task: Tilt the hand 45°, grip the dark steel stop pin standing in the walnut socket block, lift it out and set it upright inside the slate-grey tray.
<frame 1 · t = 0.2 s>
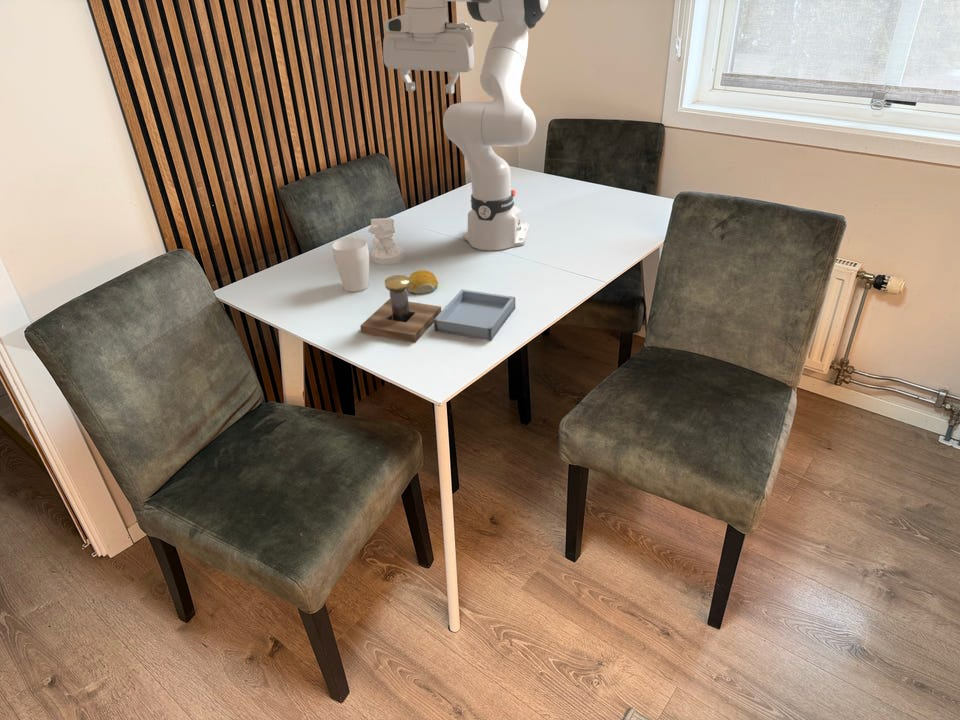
hand: (430, 92, 147), 48 cm above the table, tool pointing down, fingers open, 8 cm apart
stop pin: (399, 302, 155), in the socket block
character figurine: (388, 258, 191), on the table
socket block: (402, 323, 158), on the table
cup: (356, 287, 176), on the table
tray: (476, 319, 158), on the table
bread roll: (423, 288, 174), on the table
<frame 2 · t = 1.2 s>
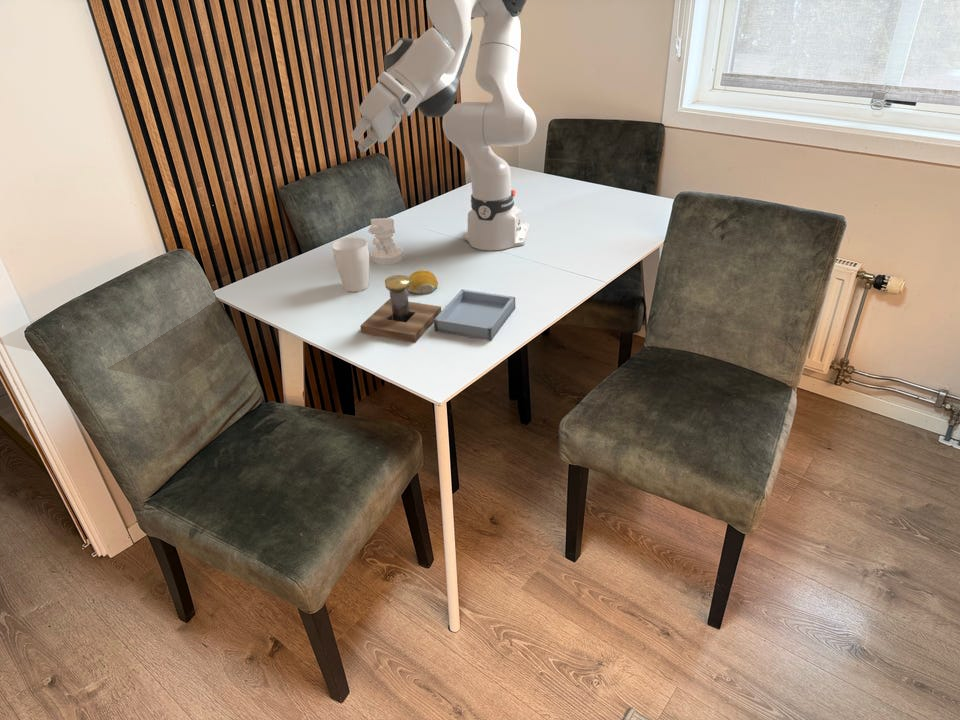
hand: (357, 144, 145), 39 cm above the table, tool tilted 50°, fingers open, 8 cm apart
nothing on the table moved.
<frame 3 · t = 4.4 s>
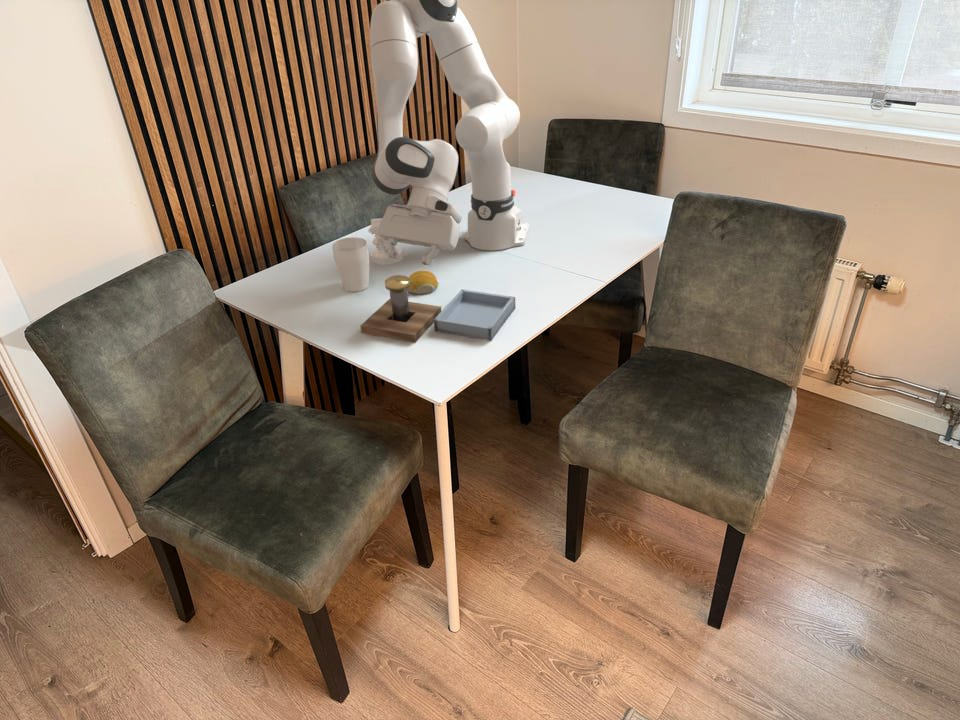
hand: (408, 261, 157), 13 cm above the table, tool tilted 45°, fingers open, 8 cm apart
nothing on the table moved.
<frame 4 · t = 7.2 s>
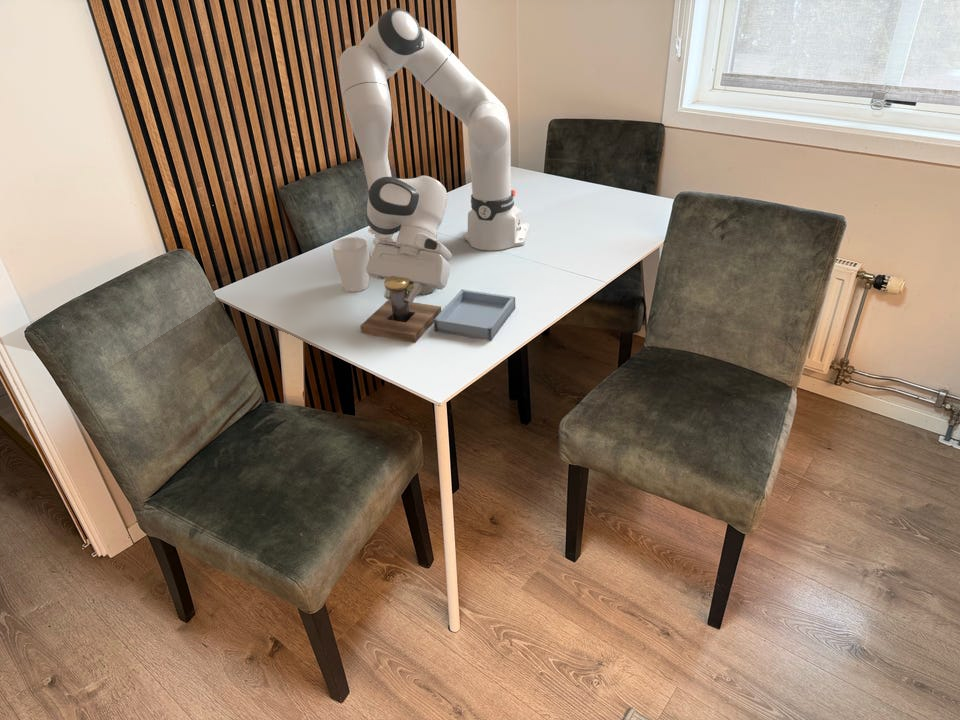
hand: (398, 300, 154), 6 cm above the table, tool tilted 45°, fingers closed on stop pin, 4 cm apart
stop pin: (399, 302, 155), in the socket block, touching gripper
everything else where it was.
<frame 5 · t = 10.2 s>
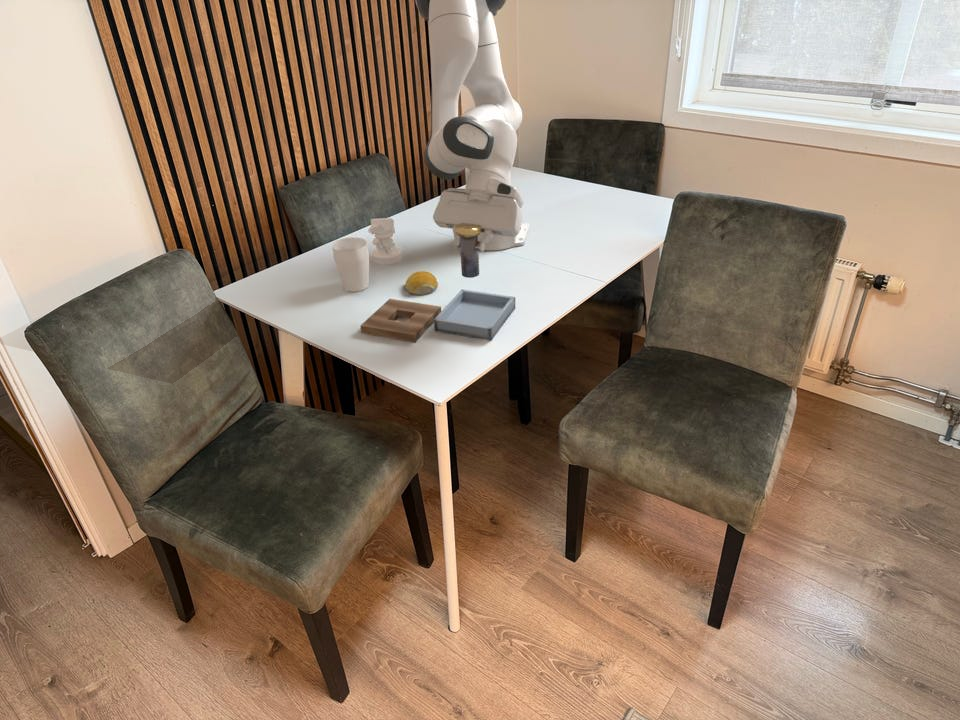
hand: (468, 248, 147), 18 cm above the table, tool tilted 45°, fingers closed on stop pin, 4 cm apart
stop pin: (469, 250, 148), point 18 cm above the table, touching gripper
everything else where it was.
when the fingers open (9 cm above the table, at t = 13.4 s): stop pin drops 2 cm, resting on tray.
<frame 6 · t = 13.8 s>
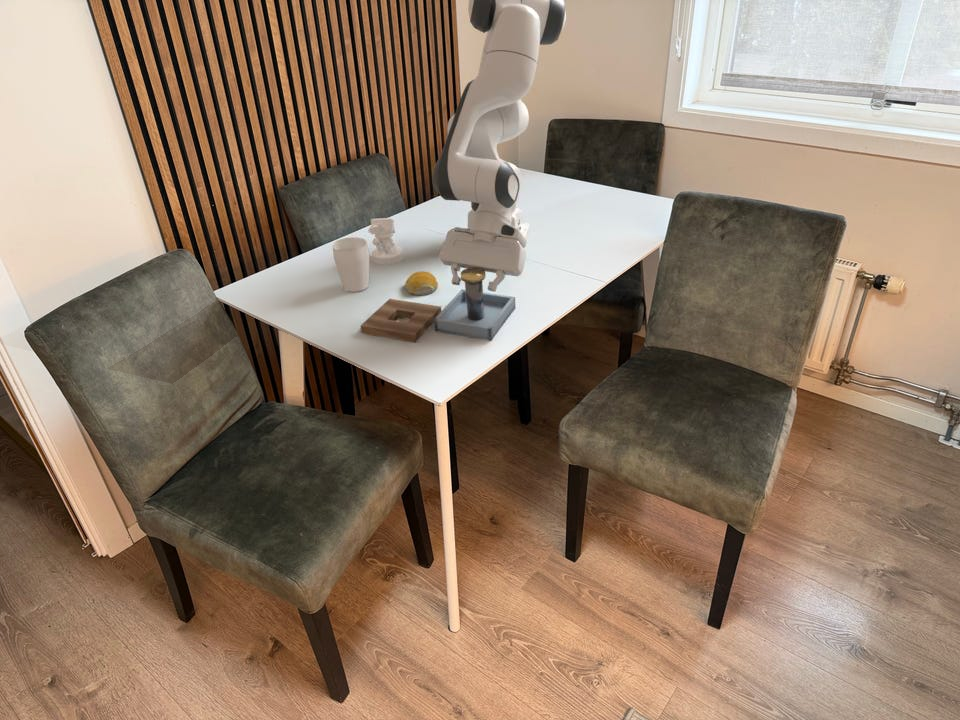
hand: (473, 287, 152), 9 cm above the table, tool tilted 45°, fingers open, 8 cm apart
stop pin: (474, 294, 154), in the tray, point 6 cm above the table
everything else where it was.
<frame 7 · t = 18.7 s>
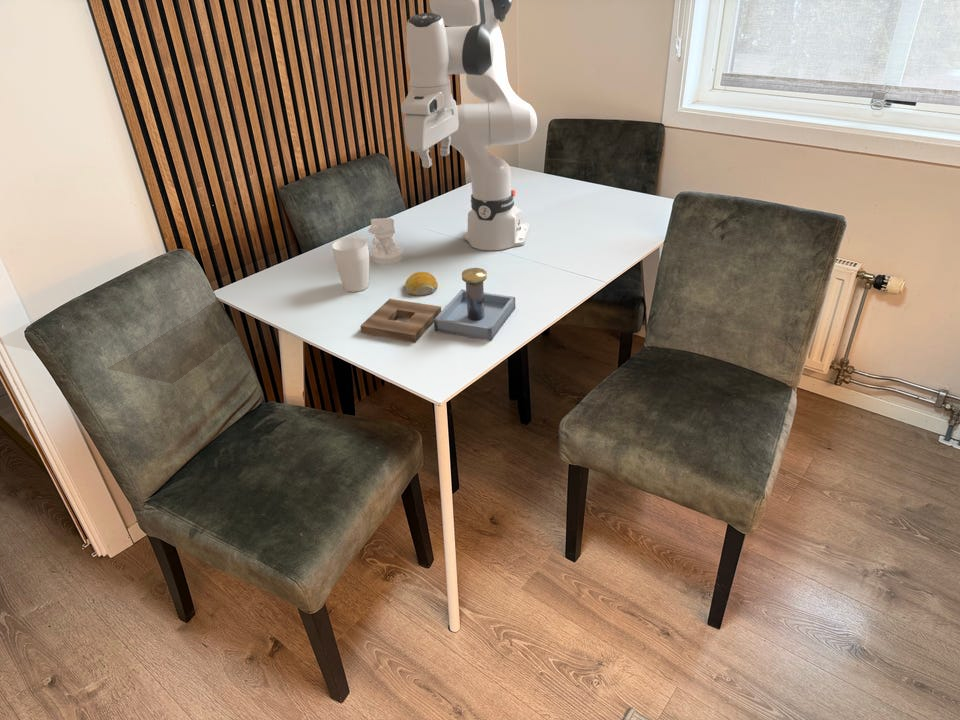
hand: (436, 161, 153), 33 cm above the table, tool pointing down, fingers open, 8 cm apart
nothing on the table moved.
at the end: stop pin inside the target area on the tray (0.1 cm from its centre), point 6.4 cm above the tray's base; stop pin tilted 1°; the gripper is holding nothing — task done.
